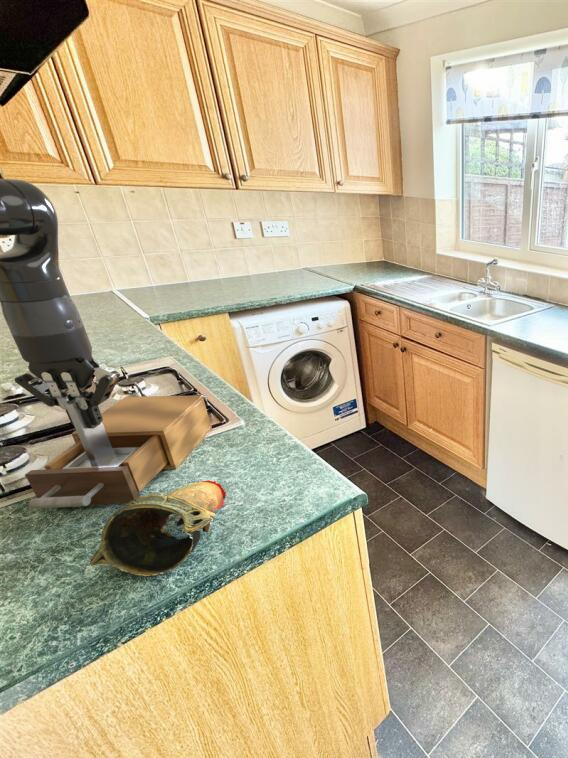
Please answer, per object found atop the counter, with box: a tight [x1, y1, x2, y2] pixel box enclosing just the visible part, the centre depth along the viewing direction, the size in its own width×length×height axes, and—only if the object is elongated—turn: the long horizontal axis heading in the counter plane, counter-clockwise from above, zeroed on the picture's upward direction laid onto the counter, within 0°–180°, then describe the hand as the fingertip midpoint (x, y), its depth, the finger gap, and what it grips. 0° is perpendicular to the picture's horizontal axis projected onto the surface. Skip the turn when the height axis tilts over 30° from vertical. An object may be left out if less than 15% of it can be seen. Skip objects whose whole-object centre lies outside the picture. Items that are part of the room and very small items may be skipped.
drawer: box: [24, 435, 169, 510], centre depth 72 cm, size 18×13×7 cm
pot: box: [87, 479, 227, 577], centre depth 64 cm, size 17×11×18 cm
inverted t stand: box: [62, 399, 140, 469], centre depth 70 cm, size 8×6×13 cm
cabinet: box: [71, 394, 213, 470], centre depth 84 cm, size 15×15×9 cm
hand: (89, 426), depth 70 cm, fingers closed on inverted t stand, 1 cm apart
